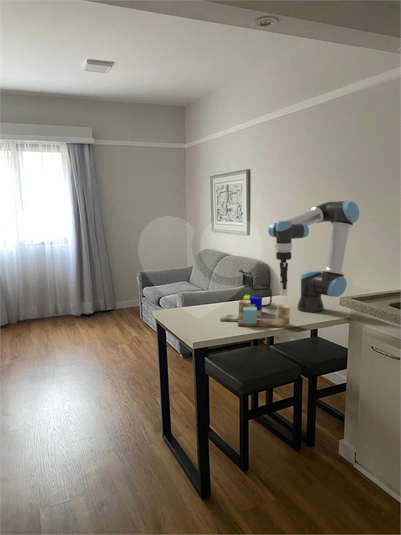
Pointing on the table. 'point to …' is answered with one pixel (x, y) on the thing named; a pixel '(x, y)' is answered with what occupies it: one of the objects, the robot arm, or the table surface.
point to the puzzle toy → (255, 302)
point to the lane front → (282, 320)
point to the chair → (249, 283)
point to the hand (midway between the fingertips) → (283, 292)
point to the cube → (250, 315)
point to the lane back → (236, 317)
